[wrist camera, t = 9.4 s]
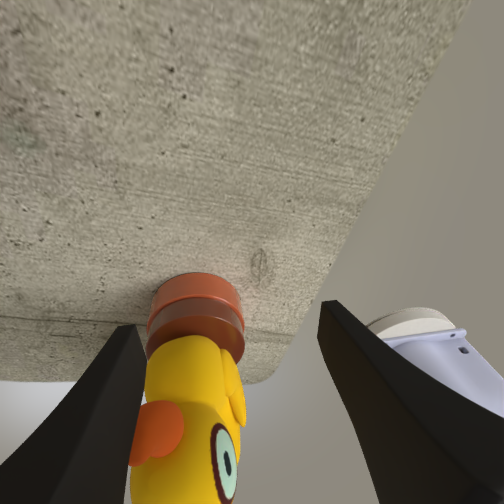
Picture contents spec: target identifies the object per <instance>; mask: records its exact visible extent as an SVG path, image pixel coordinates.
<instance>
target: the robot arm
mask: <svg viewBox="0 0 504 504" xmlns="http://www.w3.org/2000/svg"><path fill="white" fill-rule="evenodd" d="M465 335H466V331H465V329H463V328H458V329H451V330H443V331H436V332H429V333H422V334H414V335H407V336H400V337H392V338H385V339H380V338H379V337H378V336H376V335H375V334H374V333H373V332H372V331H371V330H369V329H368V328H367V327H366V326H365V325H364V324H363V323H361V322H360V321H359V320H358V319H357V318H356V317H355V316H354V315H353V314H351V313H350V312H349V311H348V310H347V309H346V308H345V307H344V306H343V305H342V304H340V303H339V302H338V301H337V300H332V301H324V302H322V304H321V312H320V319H319V326H318V334H317V339H318V342H319V345H320V349H321V352H322V355H323V358H324V361H325V363H326V366H327V368H328V370H329V372H330V374H331V377H332V379H333V381H334V383H335V386H336V388H337V390H338V392H339V394H340V396H341V399H342V401H343V403H344V405H345V407H346V410H347V412H348V414H349V416H350V419H351V421H352V423H353V426H354V428H355V431H356V434H357V437H358V440H359V443H360V446H361V448H362V451H363V454H364V457H365V460H366V463H367V466H368V469H369V472H370V475H371V478H372V481H373V484H374V487H375V491H376V494H377V497H378V500H379V503H380V504H504V379H503V378H502V377H501V376H500V375H499V374H498V373H497V371H496V370H494V368H492V366H491V365H490V364H489V363H488V362H487V361H486V360H485V359H484V358H483V357H482V356H481V355H480V354H479V353H478V352H477V351H476V350H475V349H474V348H473V347H472V346H471V345H470V344H469V343H468V342H467V341H466V339H465V338H464V337H465ZM146 367H147V358H146V355H145V352H144V349H143V346H142V343H141V340H140V337H139V334H138V331H137V328H136V325H135V324H133V325H124V326H118V327H117V328H116V329H115V331H114V332H113V334H112V335H111V336H110V338H109V339H108V341H107V342H106V344H105V345H104V346H103V348H102V349H101V351H100V352H99V353H98V355H97V356H96V357H95V359H94V360H93V362H92V363H91V364H90V366H89V367H88V368H87V369H86V371H85V372H84V373H83V375H82V376H81V377H80V379H79V380H78V381H77V383H76V384H75V385H74V386H73V387H72V389H71V390H70V391H69V392H68V394H67V395H66V396H65V397H64V398H63V400H62V401H61V402H60V403H59V404H58V406H57V407H56V408H55V409H54V410H53V411H52V412H51V414H50V415H49V416H48V417H47V418H46V419H45V420H44V421H43V423H42V424H41V425H40V426H39V427H38V428H37V429H36V430H35V431H34V432H33V433H32V434H31V435H30V436H29V437H28V439H27V440H25V442H24V443H23V444H22V445H21V446H20V447H19V448H18V449H17V450H16V451H15V452H14V453H13V454H12V455H11V456H9V458H8V459H6V460H5V461H4V462H3V463H2V465H0V504H123V503H124V494H125V486H126V478H127V470H128V464H129V458H130V452H131V448H132V443H133V439H134V434H135V429H136V425H137V420H138V416H139V411H140V406H141V401H142V397H143V392H144V387H145V378H146Z"/></svg>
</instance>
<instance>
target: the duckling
mask: <svg viewBox="0 0 504 504" xmlns="http://www.w3.org/2000/svg"><path fill="white" fill-rule="evenodd" d="M144 391H145V397H146V401H147V403H146V404H143V405H142V406H140V411H139V416H138V420H137V425H136V429H135V434H134V439H133V443H132V448H131V452H130V458H129V464H128V465H129V466H132V467H131V475H130V493H131V501H132V504H232V502H233V499H234V495H235V491H236V485H237V464H238V461H239V457H240V425H241V426H242V427H245V424H246V404H245V397H244V393H243V387H242V383H241V379H240V376H239V372H238V369H237V366H236V364H235V362H234V360H233V358H232V356H231V355H230V353H229V352H228V351H227V350H225V349H219V347H218V346H217V345H216V344H215V343H214V342H213V341H212V340H210V339H209V338H207V337H204V336H200V335H191V336H185V337H181V338H177V339H174V340H171V341H169V342H167V343H165V344H163V345H161V346H160V347H159V348H158V349H157V350H156V351H155V352H154V353H153V354H152V356H151V357H150V359H149V361H148V364H147V367H146V378H145V387H144Z"/></svg>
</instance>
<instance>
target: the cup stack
mask: <svg viewBox="0 0 504 504" xmlns="http://www.w3.org/2000/svg"><path fill="white" fill-rule="evenodd" d="M146 331H147V337H148V338H147V343H146V348H145V351H146V357H147V359H148V361H149V359H150V357H151V356H152V354H153V353H154V352H155V351H156V350H157V349H158V348H159V347H160V346H161V345H163V344H165V343H167V342H169V341H171V340H174V339H177V338H181V337H185V336H191V335H200V336H204V337H207V338H209V339H210V340H212V341H213V342H214V343H215V344H216V345H217V346H218V347H219V349H225V350H227V351H228V352H229V353H230V355H231V356H232V358H233V360H234V362H235V364H237V363H238V362H239V361H240V359H241V358H242V355H243V353H244V349H245V342H244V335H243V333H244V318H243V312H242V307H241V301H240V297H239V294H238V292H237V291H236V289H235V288H234V287H233V286H232V285H231V284H230V283H229V282H227V281H226V280H224V279H223V278H221V277H218V276H216V275H212V274H207V273H188V274H183V275H179V276H177V277H174V278H172V279H170V280H168V281H167V282H166V283H164V284H163V285H162V286H161V287H160V288H159V289H158V290H157V291H156V293H155V295H154V297H153V299H152V303H151V308H150V313H149V318H148V322H147V328H146Z"/></svg>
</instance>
